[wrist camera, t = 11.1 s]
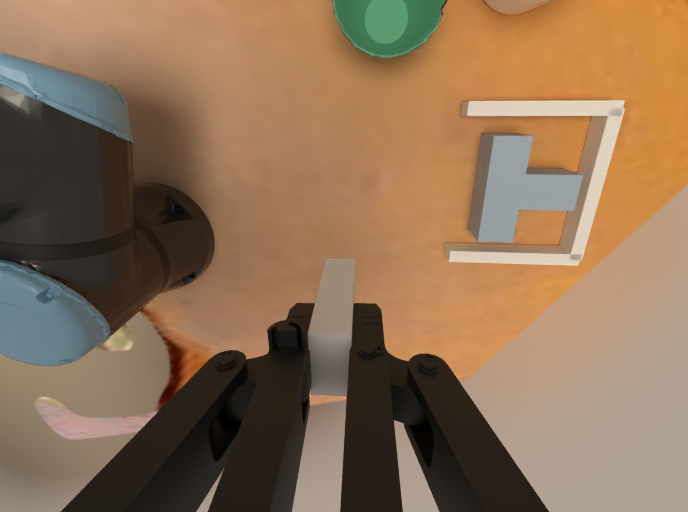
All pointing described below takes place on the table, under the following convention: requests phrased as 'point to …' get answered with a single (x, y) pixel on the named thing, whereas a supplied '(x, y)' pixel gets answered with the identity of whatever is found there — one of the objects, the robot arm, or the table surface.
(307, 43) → the table surface
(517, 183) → the t block
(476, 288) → the table surface
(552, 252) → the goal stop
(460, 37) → the table surface
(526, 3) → the candle holder
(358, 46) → the mug
